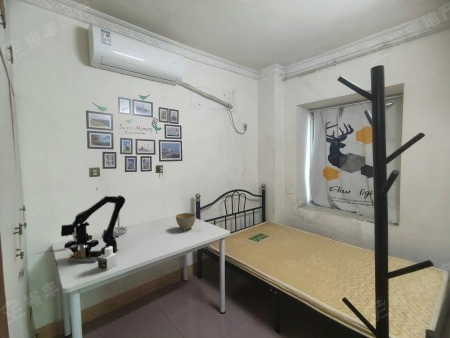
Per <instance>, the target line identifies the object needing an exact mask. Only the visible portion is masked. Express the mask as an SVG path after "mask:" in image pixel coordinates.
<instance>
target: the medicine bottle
mask: <svg viewBox="0 0 450 338" xmlns="http://www.w3.org/2000/svg"><path fill="white" fill-rule="evenodd" d="M100 251H101V256H99V257H98V261H97V269H99V270H103V271H108V270H111V269H112V268H114V267H116V266H118V263H117V262H118V260H117V258H118V257H117V253H113V247H112V246H105V245H104V246H103V247H101V249H100Z"/></svg>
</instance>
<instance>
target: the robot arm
mask: <svg viewBox="0 0 450 338" xmlns="http://www.w3.org/2000/svg"><path fill="white" fill-rule="evenodd" d="M108 203H110V204H114V207H113V211H112V214H111V217H110V219H109V222H108V226H107V228H106V229H103V233H102V234H101V238H102V242H103V243H105V244H104V247H105V246H112V247H113V253H115V254H117V252H118V251H119V249H118V243H117V239H116V237H113V231H114V229H115V227H116V224H117V222H118V215H119V216H120V212H121V209H122V208H123V206H124V205H125V203H126V199H125V197H124V196H123V195H117V196H114V195H113V196H108V195H105V196H104V197H102V198H101V199H100V200H99V201H97V202H96V203H94V204H93V205H92V206H90V207H89V208H87V209H86V210H83V211H81V212H79V213H77V214H76V215H75V218H74V221H73V222H72V223H70V224H62V225H61V231H60V236H61V237H66V236H67V237H69V236H73V233H75V228H76V236H75V238H76V240H75V241H74V240H69V241H67V242H65V244H64V246H63V247H64V249H68V250H70V251H71V252H72V253H73V254H74V253H75V252H76V251H78V250H79V245H86V248H85V250H86V256H87V257H88V256H89V253H90V251H92V248H95V247H96V246H98V245H99V244H100V243H99V240H98V239H93V235H91V234H90V235H89V233H88V232H87V227H89V226H90V223H89V222H88V221H87V220H88V219H89V218H90V217H91V216H92V214H94V213H95V212H96V211H98V210H99V209H101V208H102V207H103V206H104V205H107V204H108Z"/></svg>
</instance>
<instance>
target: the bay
mask: <svg viewBox="0 0 450 338" xmlns="http://www.w3.org/2000/svg"><path fill="white" fill-rule="evenodd" d="M86 247H87V245H79V246H78V249H85V248H86ZM99 256H101V250H90V256H89V257H88V258H75V254H74V253H73V254H71V255H70V256H69V257H68V259H67V261H68V263H69V264H83V263H84V264H86V263H96V262H98V257H99Z"/></svg>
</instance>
